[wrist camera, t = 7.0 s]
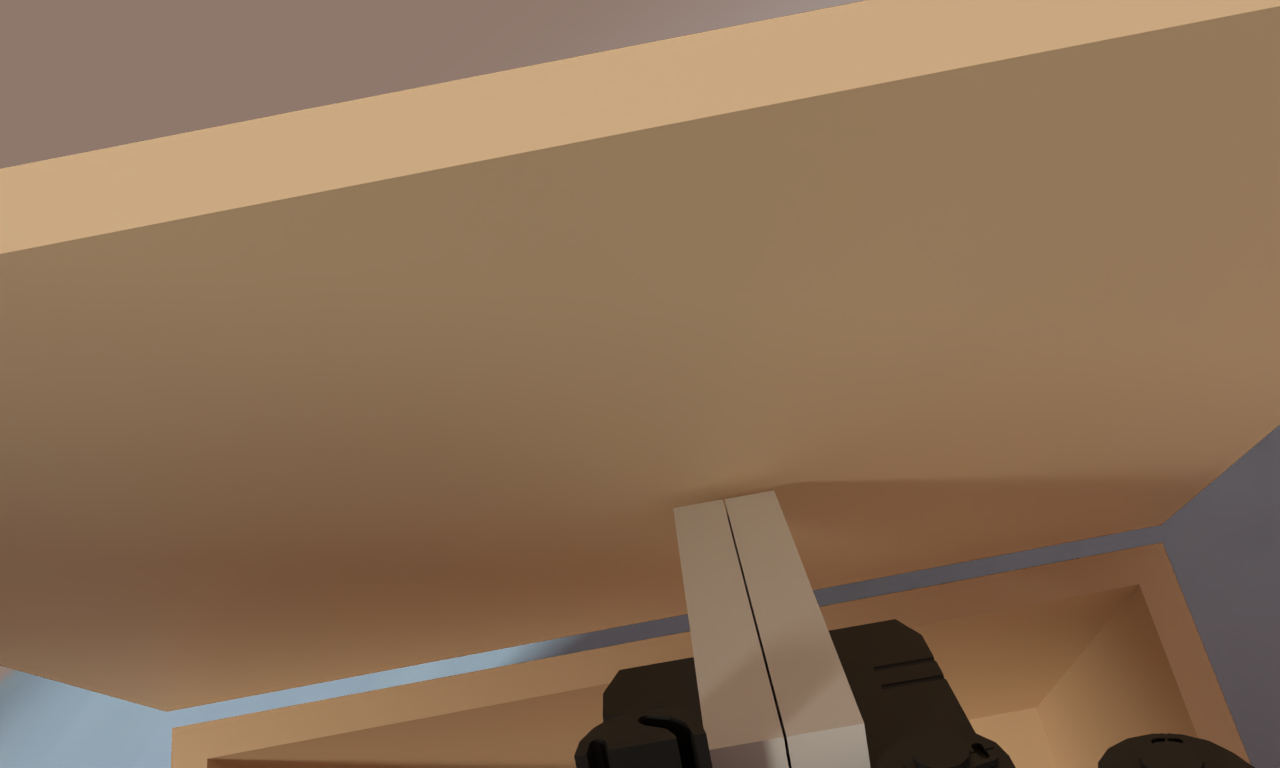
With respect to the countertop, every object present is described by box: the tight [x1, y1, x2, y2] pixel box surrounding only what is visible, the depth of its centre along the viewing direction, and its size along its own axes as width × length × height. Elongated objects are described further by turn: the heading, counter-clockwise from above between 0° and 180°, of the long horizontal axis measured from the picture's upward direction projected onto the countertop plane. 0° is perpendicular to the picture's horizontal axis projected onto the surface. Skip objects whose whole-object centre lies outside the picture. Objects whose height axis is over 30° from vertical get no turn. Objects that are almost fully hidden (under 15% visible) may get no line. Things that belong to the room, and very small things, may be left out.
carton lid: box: [0, 0, 1280, 712], centre depth 18 cm, size 18×22×1 cm
